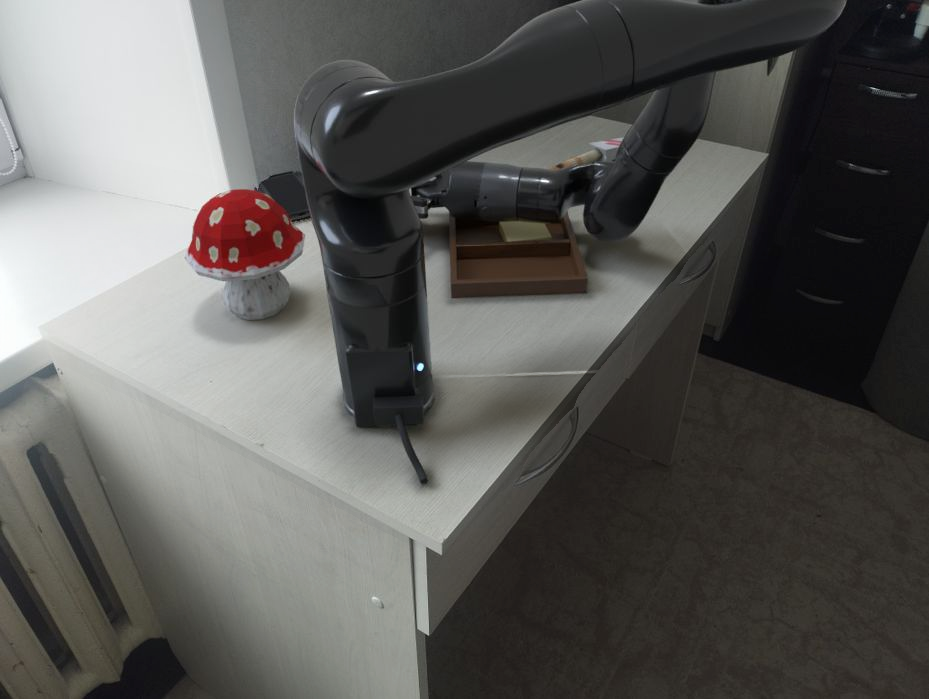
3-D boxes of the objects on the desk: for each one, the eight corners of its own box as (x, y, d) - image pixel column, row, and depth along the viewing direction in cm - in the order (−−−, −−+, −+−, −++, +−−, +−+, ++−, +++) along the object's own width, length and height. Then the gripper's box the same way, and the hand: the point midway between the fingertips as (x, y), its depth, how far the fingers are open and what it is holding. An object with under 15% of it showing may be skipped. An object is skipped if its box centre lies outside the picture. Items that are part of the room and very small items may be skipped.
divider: (569, 255, 100) (570, 242, 98) (456, 259, 99) (456, 246, 98) (568, 252, 100) (569, 239, 99) (456, 256, 100) (456, 243, 99)
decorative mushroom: (305, 267, 100) (286, 160, 91) (327, 323, 89) (308, 208, 80) (197, 289, 96) (165, 180, 87) (206, 350, 86) (172, 233, 76)
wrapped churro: (647, 133, 126) (557, 169, 117) (645, 148, 128) (557, 185, 119) (630, 126, 129) (541, 161, 120) (629, 141, 130) (541, 177, 122)
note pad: (551, 246, 101) (552, 237, 101) (508, 251, 101) (508, 241, 100) (540, 226, 106) (541, 216, 105) (499, 230, 106) (499, 221, 105)
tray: (586, 296, 93) (587, 278, 91) (451, 300, 92) (450, 283, 91) (565, 223, 108) (566, 207, 106) (449, 227, 108) (449, 211, 106)
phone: (298, 169, 122) (328, 205, 112) (299, 176, 123) (329, 212, 112) (250, 179, 120) (276, 217, 109) (252, 186, 120) (277, 224, 110)
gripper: (498, 144, 103) (381, 136, 106) (474, 188, 92) (345, 178, 95) (498, 194, 107) (386, 185, 111) (475, 243, 96) (352, 231, 100)
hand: (367, 182), depth 103 cm, fingers closed on pencil cup, 6 cm apart
